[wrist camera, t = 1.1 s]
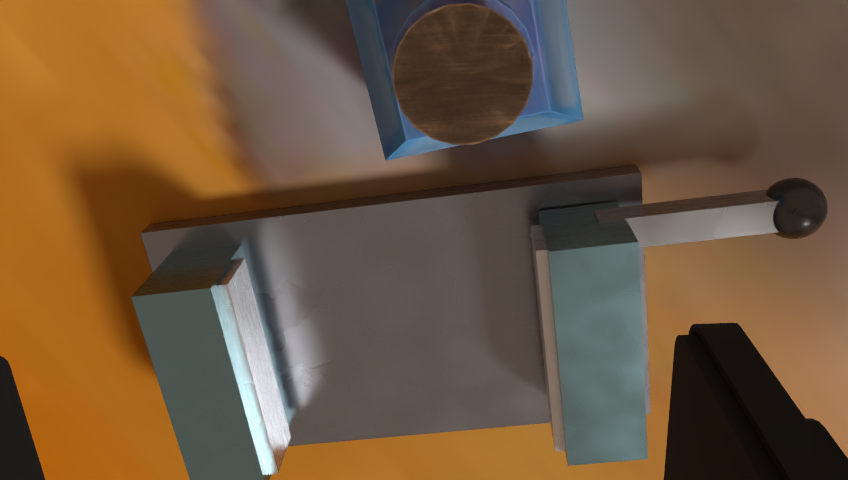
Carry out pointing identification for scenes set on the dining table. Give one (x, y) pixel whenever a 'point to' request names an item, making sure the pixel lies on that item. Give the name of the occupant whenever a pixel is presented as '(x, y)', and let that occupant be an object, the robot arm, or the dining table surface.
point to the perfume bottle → (464, 69)
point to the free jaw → (628, 301)
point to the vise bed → (356, 318)
